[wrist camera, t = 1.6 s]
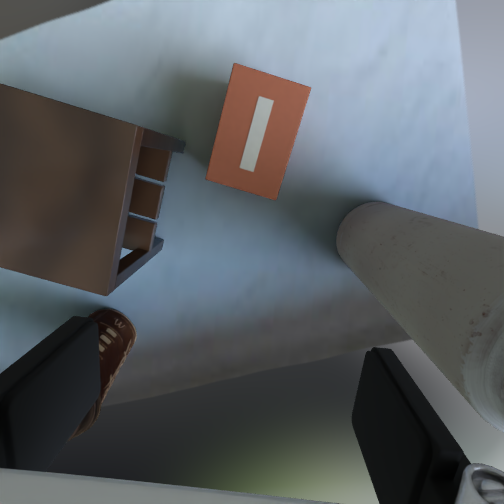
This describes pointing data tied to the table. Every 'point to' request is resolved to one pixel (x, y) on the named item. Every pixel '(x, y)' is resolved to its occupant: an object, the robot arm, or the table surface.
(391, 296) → the thermos bottle
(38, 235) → the slatted side table
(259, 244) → the table surface
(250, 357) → the table surface
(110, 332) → the coffee cup
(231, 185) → the tissue box
